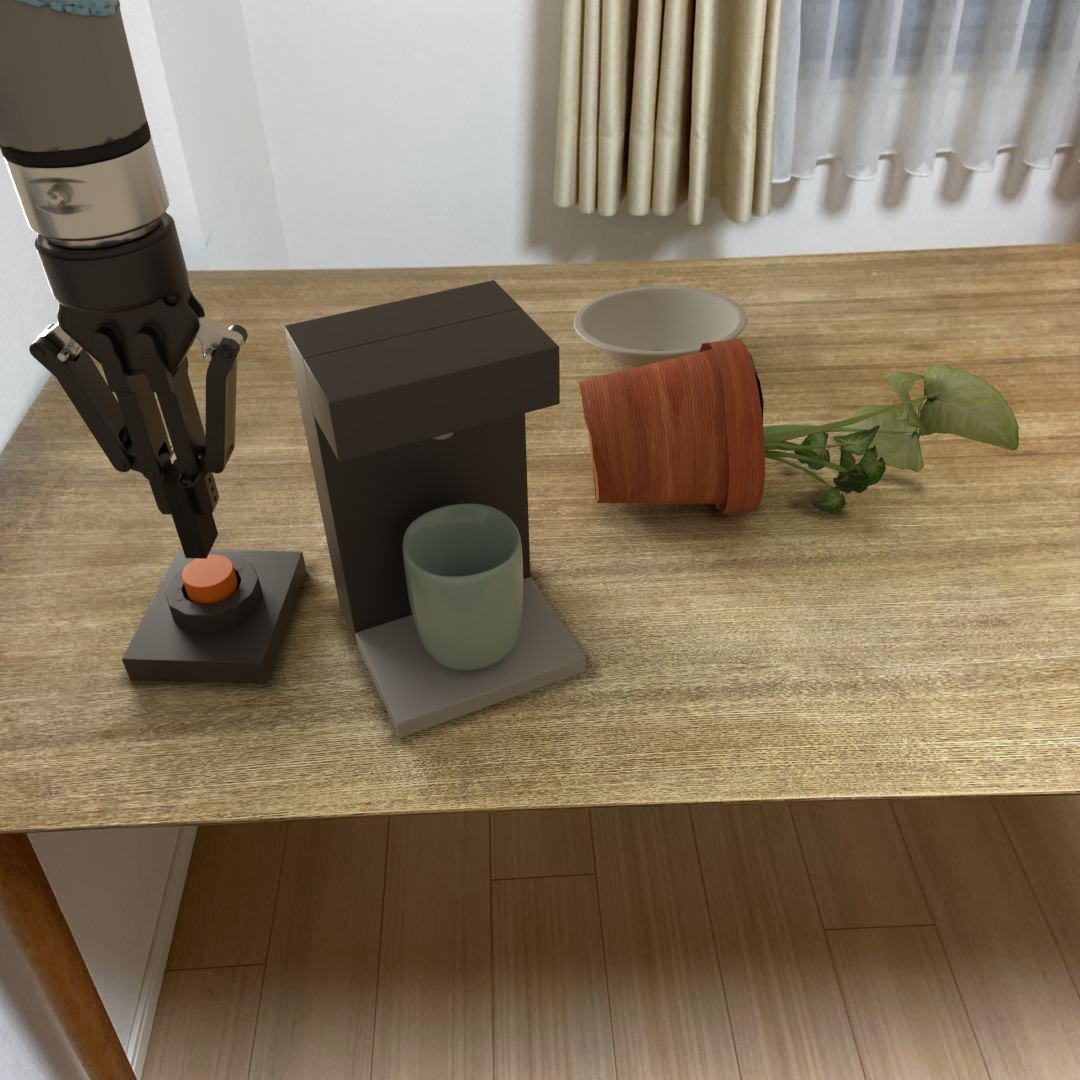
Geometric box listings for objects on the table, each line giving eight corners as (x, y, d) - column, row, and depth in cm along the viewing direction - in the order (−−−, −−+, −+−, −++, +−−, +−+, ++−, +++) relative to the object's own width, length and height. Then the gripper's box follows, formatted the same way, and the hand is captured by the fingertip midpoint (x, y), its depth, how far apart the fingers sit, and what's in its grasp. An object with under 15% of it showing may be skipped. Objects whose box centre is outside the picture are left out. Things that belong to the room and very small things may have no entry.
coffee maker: (586, 671, 72) (591, 377, 57) (399, 739, 68) (349, 440, 53) (508, 556, 82) (494, 279, 67) (340, 609, 78) (283, 325, 62)
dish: (716, 320, 112) (720, 278, 109) (763, 386, 101) (769, 342, 98) (560, 338, 110) (560, 295, 107) (591, 408, 99) (591, 363, 96)
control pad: (129, 680, 72) (113, 641, 70) (184, 569, 82) (171, 531, 79) (267, 684, 72) (256, 645, 69) (307, 572, 81) (298, 533, 79)
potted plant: (601, 577, 83) (1034, 527, 82) (586, 413, 74) (1073, 355, 73) (585, 473, 95) (960, 429, 94) (570, 322, 86) (985, 272, 85)
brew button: (180, 604, 73) (174, 586, 72) (196, 571, 76) (190, 553, 75) (229, 605, 73) (224, 587, 72) (243, 572, 76) (239, 554, 75)
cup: (507, 599, 76) (501, 492, 70) (540, 671, 70) (537, 562, 64) (405, 623, 74) (389, 516, 68) (430, 700, 69) (416, 590, 62)
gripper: (-44, 250, 54) (91, 579, 69) (195, 250, 53) (279, 583, 69) (19, 196, 60) (131, 511, 75) (236, 196, 59) (305, 514, 74)
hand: (202, 545), depth 72 cm, fingers closed
